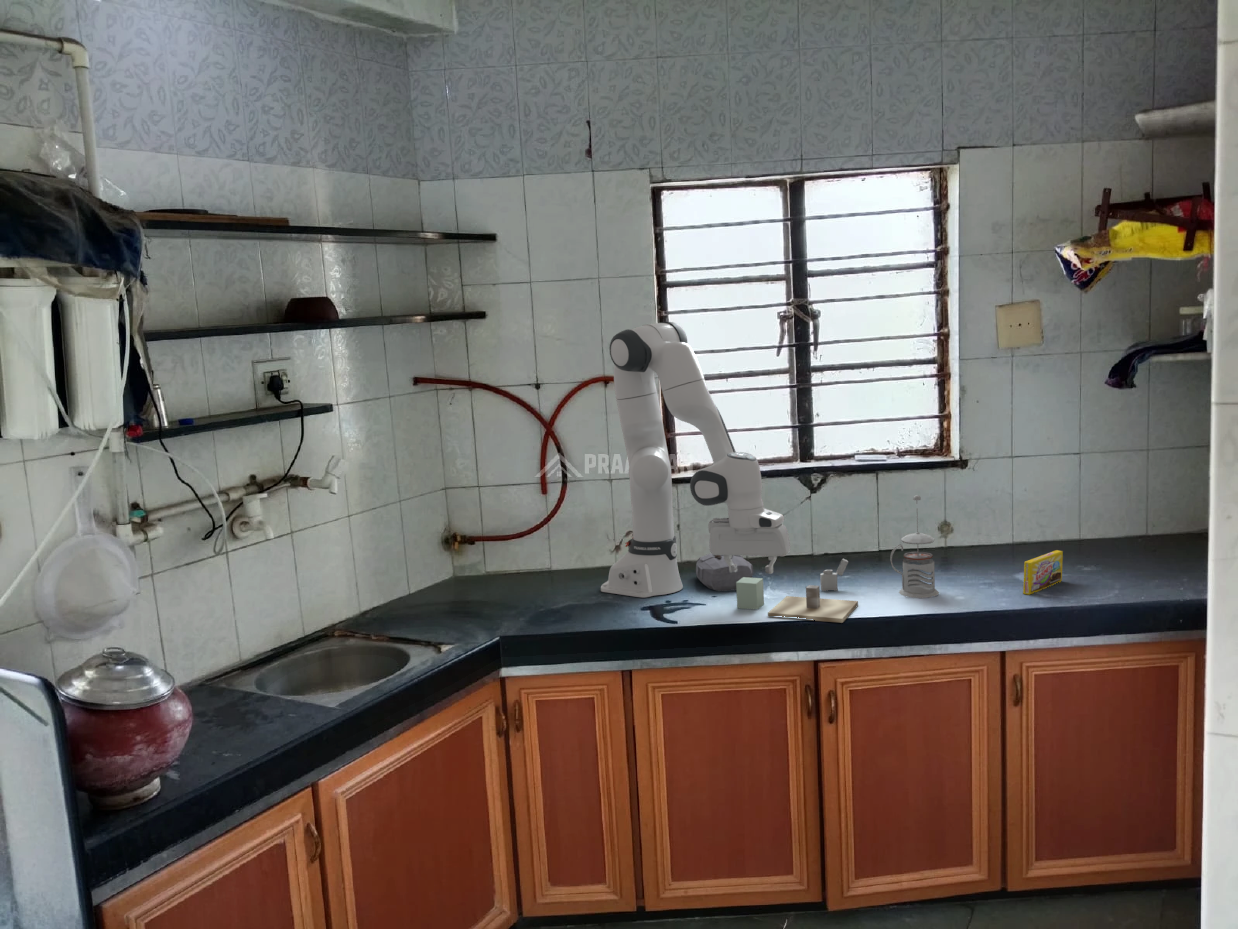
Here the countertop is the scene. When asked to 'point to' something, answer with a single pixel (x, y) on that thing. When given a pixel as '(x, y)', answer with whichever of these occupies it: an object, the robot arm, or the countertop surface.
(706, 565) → the grey rounded bag
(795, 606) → the post stand
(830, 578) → the lighter
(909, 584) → the french press
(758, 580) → the pale sage rectangular block
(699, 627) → the countertop surface
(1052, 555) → the candy box
